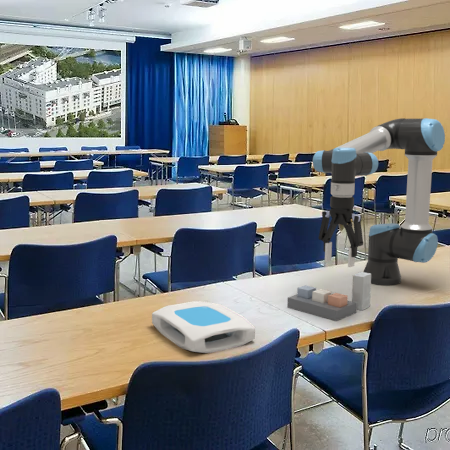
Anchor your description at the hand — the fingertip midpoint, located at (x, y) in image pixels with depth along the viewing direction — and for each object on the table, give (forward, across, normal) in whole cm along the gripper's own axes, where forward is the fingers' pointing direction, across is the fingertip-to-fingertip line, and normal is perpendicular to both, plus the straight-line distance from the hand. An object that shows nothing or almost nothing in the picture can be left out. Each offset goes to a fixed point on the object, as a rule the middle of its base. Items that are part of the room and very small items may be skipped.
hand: (339, 264), depth 198 cm
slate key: (+15, -13, 0) cm, 20 cm away
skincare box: (+18, +2, +12) cm, 21 cm away
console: (+17, -6, 0) cm, 18 cm away
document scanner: (+18, -18, -45) cm, 52 cm away
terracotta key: (+15, 0, 0) cm, 15 cm away
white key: (+15, -6, 0) cm, 16 cm away
